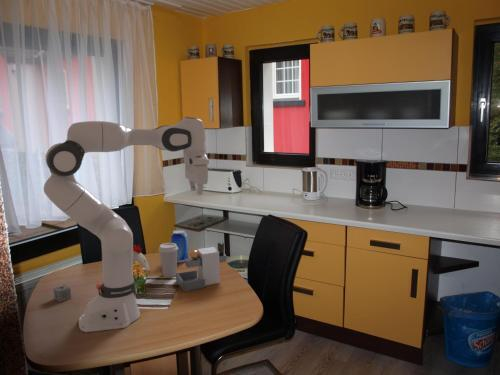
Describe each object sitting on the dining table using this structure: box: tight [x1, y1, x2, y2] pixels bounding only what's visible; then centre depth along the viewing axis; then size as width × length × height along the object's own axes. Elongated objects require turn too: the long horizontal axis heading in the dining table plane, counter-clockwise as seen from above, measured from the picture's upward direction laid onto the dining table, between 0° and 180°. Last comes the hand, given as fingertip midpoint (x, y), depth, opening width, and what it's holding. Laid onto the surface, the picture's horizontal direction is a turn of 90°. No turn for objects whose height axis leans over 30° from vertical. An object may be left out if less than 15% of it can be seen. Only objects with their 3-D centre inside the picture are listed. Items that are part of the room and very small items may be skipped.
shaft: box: [185, 241, 227, 268], centre depth 194 cm, size 18×4×8 cm, turn 114°
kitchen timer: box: [132, 244, 151, 273], centre depth 207 cm, size 14×14×15 cm
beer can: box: [170, 229, 189, 264], centre depth 224 cm, size 8×8×16 cm
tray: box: [175, 269, 206, 293], centre depth 193 cm, size 10×13×4 cm
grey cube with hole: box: [53, 284, 72, 303], centre depth 180 cm, size 5×5×5 cm
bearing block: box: [196, 246, 221, 286], centre depth 196 cm, size 8×8×15 cm
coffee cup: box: [157, 242, 178, 278], centre depth 204 cm, size 10×10×15 cm
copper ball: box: [189, 249, 199, 259], centre depth 192 cm, size 4×4×4 cm
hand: (196, 192), depth 170 cm, fingers open, 8 cm apart
